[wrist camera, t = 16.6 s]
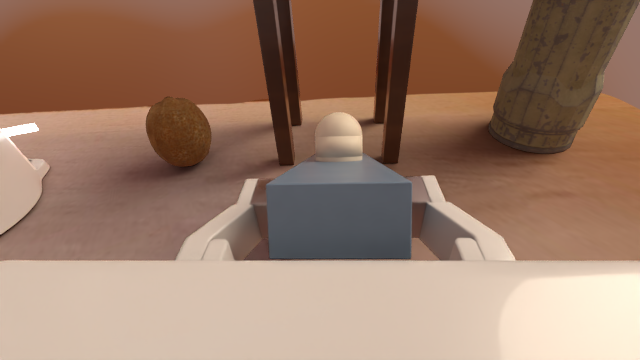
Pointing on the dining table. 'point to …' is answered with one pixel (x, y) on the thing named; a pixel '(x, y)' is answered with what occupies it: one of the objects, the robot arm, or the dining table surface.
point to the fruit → (178, 131)
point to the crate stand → (283, 72)
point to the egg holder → (339, 202)
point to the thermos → (557, 72)
